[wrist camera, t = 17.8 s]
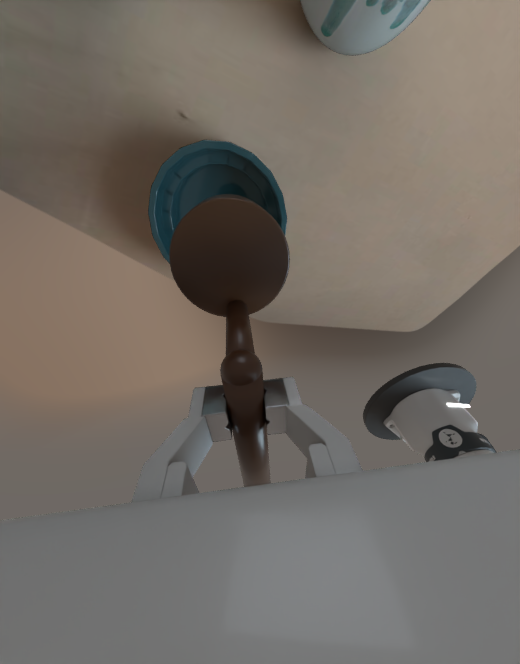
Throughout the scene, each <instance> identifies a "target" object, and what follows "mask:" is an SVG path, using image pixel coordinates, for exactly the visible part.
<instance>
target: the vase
mask: <svg viewBox="0 0 520 664" xmlns="http://www.w3.org/2000/svg"><path fill="white" fill-rule="evenodd" d="M430 1H431V0H300V2H301V6H302V9H303V12H304V15H305V17H306V19H307V22H308V24H309V26H310V27H311V29H312V31H313V32H314V34H315V35H316V37H317V38H318V39H319V40H320V41H321V42H322V43H323V44H324V45H325V46H326V47H327V48H329V49H330V50H332V51H334V52H336V53H339V54H343V55H349V56H356V55H362V54H366V53H369V52H372V51H374V50H376V49H378V48H380V47H382V46H384V45H386V44H387V43H389V42H390V41H392V40H393V39H394V38H395V37H397V36H398V35H399V34H400V33H401V32H403V31H404V30H405V29H406V28H407V27H408V26H409V25H410V24H411V23H412V22H413V21H414V20H415V19H416V17H417V16H418V15H419V14H420V13H421V12H422V11H423V9H424V8H425V7H426V6H427V5H428V3H429V2H430Z"/></svg>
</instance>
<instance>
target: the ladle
mask: <svg viewBox="0 0 520 664" xmlns="http://www.w3.org/2000/svg"><path fill="white" fill-rule="evenodd" d="M169 258H170V266H171V271H172V274H173V277H174V279H175V281H176V283H177V285H178V287H179V288H180V290H181V292H182V293H183V294H184V295H185V296H186V297H187V299H189V300H190V301H191V302H192V303H193V304H194V305H196V306H197V307H199V308H200V309H202V310H204V311H206V312H208V313H211V314H214V315H217V316H223V317H226V357H225V358H224V360H223V362H222V364H221V370H220V371H221V378H222V383H223V388H224V393H225V397H226V401H227V405H228V410H229V416H230V420H231V425H232V430H233V435H234V440H235V445H236V450H237V455H238V459H239V464H240V469H241V473H242V478H243V483H244V487H248V486H255V485H263V484H270V469H269V456H268V442H267V427H266V420H265V407H264V387H263V373H262V365H261V362H260V360H259V358H258V357H257V356H256V355H255V352H254V347H253V340H252V333H251V326H250V320H249V314H252V313H255V312H257V311H259V310H261V309H262V308H264V307H265V306H267V305H268V304H269V303H270V302H271V301H272V300H274V298H275V297H276V296H277V295H278V294H279V292H280V290H281V289H282V287H283V285H284V283H285V281H286V278H287V275H288V270H289V262H290V258H289V248H288V244H287V241H286V237H285V235H284V233H283V231H282V229H281V227H280V226H279V224H278V223H277V222H276V220H275V219H274V218H273V217H272V216H271V215H270V214H269V213H268V212H267V211H265V210H264V209H263V208H262V207H261V206H259V205H258V204H257V203H255V202H253V201H252V200H250V199H248V198H246V197H242V196H239V195H233V194H222V195H216V196H213V197H209V198H207V199H205V200H203V201H202V202H200V203H199V204H198V205H196V206H195V207H194V208H193V209H191V210H190V211H189V212H188V213H187V214H186V215H185V216H184V217H183V218H182V220H181V221H180V222H179V224H178V225H177V227H176V229H175V231H174V234H173V236H172V239H171V244H170V252H169Z"/></svg>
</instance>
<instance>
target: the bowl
mask: <svg viewBox="0 0 520 664" xmlns="http://www.w3.org/2000/svg"><path fill="white" fill-rule="evenodd" d="M222 194H233V195H239V196H242V197H246V198H248V199H250V200H252V201H253V202H255V203H257V204H258V205H259V206H261V207H262V208H263V209H264V210H265V211H267V212H268V213H269V214H270V215H271V216H272V217H273V218H274V219H275V220H276V222H277V223H278V224H279V226H280V227H281V229H282V231H283V233H284V235H285V233H286V224H287V215H286V209H285V204H284V198H283V195H282V192H281V190H280V188H279V186H278V184H277V182H276V180H275V178H274V176H273V174H272V172H271V171H270V170H269V169H268V168H267V167H266V166H265V165H264V164H263V163H262V162H261V161H260V160H259V159H258V158H257V157H256V156H255V155H254V154H253V153H252V152H249V151H247V150H245V149H243V148H241V147H239V146H237V145H235V144H233V143H231V142H226V141H213V140H202V141H199V142H196V143H193V144H190V145H187V146H185V147H182V148H180V149H179V150H178V151H176V152H175V153H174V154H173V155H172V156H171V157H170V158H169V159H168V160H167V161H165V162H164V163H163V164H162V166H161V168H160V170H159V172H158V174H157V176H156V178H155V180H154V182H153V184H152V186H151V191H150V200H149V208H148V214H149V219H150V225H151V230H152V235H153V238H154V240H155V242H156V244H157V246H158V248H159V250H160V251H161V253H162V255H163V257H164V258H165V259H166V260H167V261H168V262H169V264H170V258H169V252H170V244H171V239H172V236H173V234H174V231H175V229H176V227H177V225H178V224H179V222H180V221H181V220H182V218H183V217H184V216H185V215H186V214H187V213H188V212H189V211H190V210H191V209H193V208H194V207H195V206H196V205H198V204H199V203H200V202H202V201H203V200H205V199H207V198H209V197H213V196H216V195H222Z"/></svg>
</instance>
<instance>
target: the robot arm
mask: <svg viewBox="0 0 520 664" xmlns="http://www.w3.org/2000/svg"><path fill="white" fill-rule="evenodd" d="M263 387H264V407H265V420H266V427H267V434H268V435H271V434H282V433H286V434H287V435H288V436H289V438H290V439H291V440H292V441H293V442H294V444H295V445H296V446H297V447H298V448H299V449H300V451H301V452H302V453H303V454H304V455H305V456H306V457H307V468H306V477H305V479H299V480H293V481H285V482H278V483H270V484H263V485H255V486H248V487H241V488H234V489H227V490H220V491H212V492H204V493H199V491H198V489H197V486H196V484H195V482H194V480H193V476H194V474H195V473H196V471H197V469H198V468H199V466H200V464H201V463H202V461H203V459H204V458H205V456H206V454H207V452H208V451H209V449H210V448H211V446H212V444H213V442H218V441H224V440H231V439H232V425H231V420H230V416H229V410H228V405H227V401H226V397H225V393H224V388H223V385H218V386H208V387H199V388H195V389H194V390H193V395H192V400H191V405H190V410H189V416H188V418H186V419H184V420H183V421H182V422H181V423H180V424H179V426H178V427H177V428H176V429H175V430H174V431H173V432H172V433H171V434H170V436H169V437H168V438H167V439H166V440H165V441H164V442H163V443H162V445H161V446H160V447H159V448H158V449H157V450H156V451H155V453H154V454H153V455H152V456H151V457H150V458H149V459H148V460H147V461H146V463H145V464H144V465H143V467H142V470H141V474H140V477H139V480H138V483H137V486H136V489H135V492H134V495H133V499H132V502H131V503H124V504H117V505H110V506H103V507H95V508H88V509H80V510H73V511H66V512H59V513H52V514H44V515H37V516H29V517H22V518H14V519H7V520H0V664H520V449H519V450H511V451H504V452H498V453H497V452H496V451H495V449H494V448H493V446H492V445H491V444H490V442H489V441H488V439H487V438H486V437H485V436H483V435H482V434H479V433H477V428H478V426H477V425H478V423H477V421H476V420H475V419H474V418H473V417H472V416H471V414H470V413H469V412H468V411H467V410H466V409H465V408H464V407H469V408H470V406H469V405H468V404H460V403H459V400H460V393H459V392H458V391H457V390H449V391H446V390H442V389H436V388H433V389H426V390H422V391H419V392H416V393H414V394H411V395H409V396H408V397H406V398H405V399H403V400H402V401H401V402H399V403H398V404H397V405H396V406H395V408H394V409H393V411H392V413H391V415H390V416H389V417H388V418H386V419H385V421H384V422H383V423H384V424H385V426H386V427H387V428H388V429H390V430H391V431H392V432H393V433H394V434H396V435H397V436H398V437H399V438H400V439H402V440H403V441H404V442H405V443H407V445H408V446H409V447H410V449H411V450H414V451H415V452H416V453H418V454H420V455H421V456H423V457H424V458H425V460H426V462H424V463H417V464H409V465H402V466H395V467H388V468H381V469H373V470H366V471H363V470H362V468H361V466H360V463H359V461H358V459H357V457H356V454H355V452H354V450H353V448H352V445H351V443H350V441H349V439H348V438H347V437H345V436H344V435H343V434H342V433H341V432H340V431H338V430H337V429H336V428H335V427H333V426H332V425H331V424H330V423H328V422H327V421H326V420H325V419H324V418H322V417H321V416H320V415H318V414H317V413H316V412H315V411H314V410H312V409H311V408H310V407H309V406H308V405H306V404H302V401H301V398H300V395H299V392H298V388H297V385H296V382H295V379H294V377H286V378H279V379H270V380H263Z"/></svg>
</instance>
